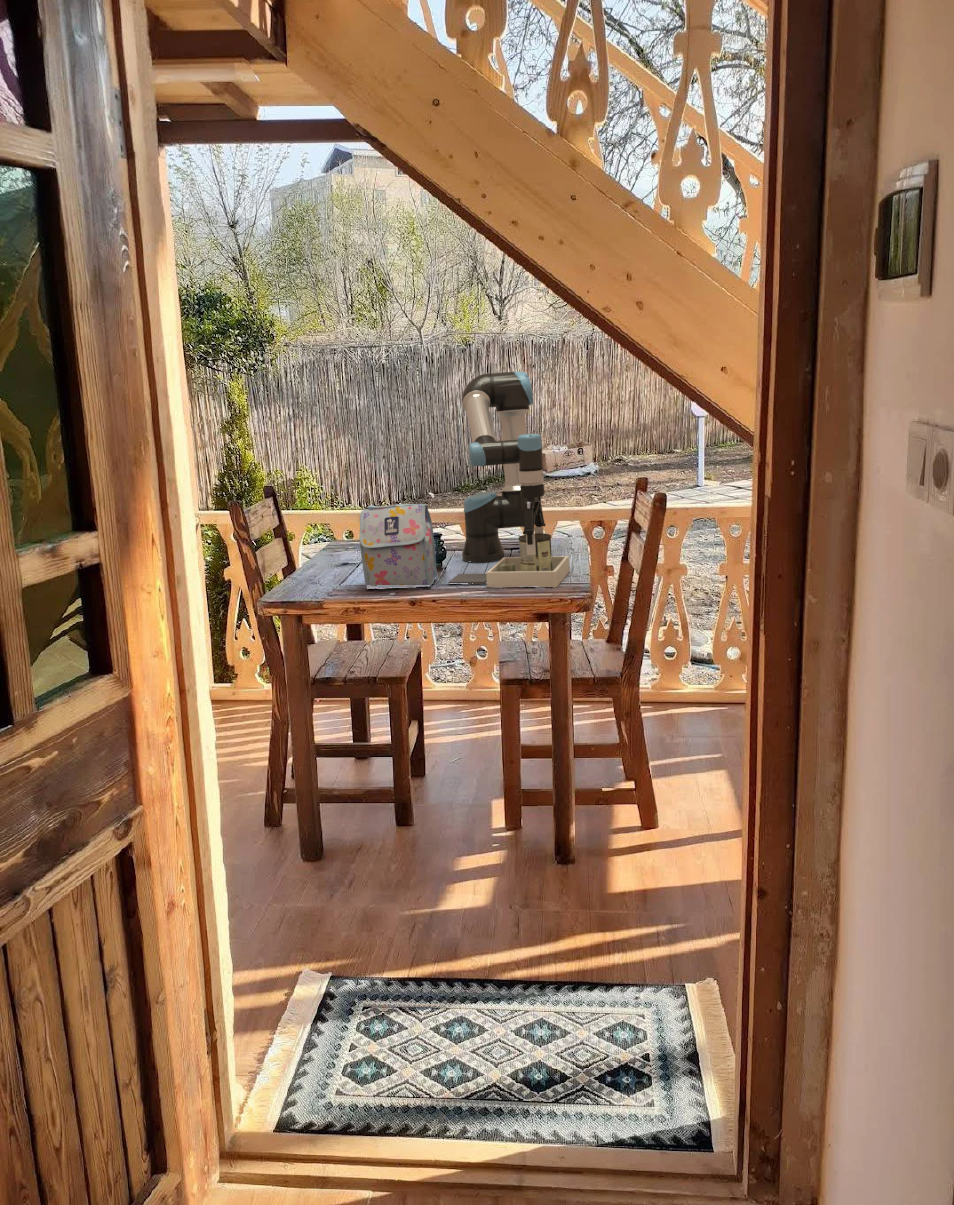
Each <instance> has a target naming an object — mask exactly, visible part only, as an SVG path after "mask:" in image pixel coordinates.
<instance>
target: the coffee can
mask: <svg viewBox="0 0 954 1205" xmlns="http://www.w3.org/2000/svg"><path fill="white" fill-rule="evenodd" d="M534 534H535V533H534ZM518 540H519V541H518V543H519V557H520V561H521V571H552V557H553V555H552V535H551V534H549V533H544V532H543V533H537V534H535V548H536V555H527V548H526V534H523V535H520V536H518Z"/></svg>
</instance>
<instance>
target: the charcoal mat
mask: <svg viewBox="0 0 954 1205" xmlns="http://www.w3.org/2000/svg"><path fill="white" fill-rule="evenodd" d="M486 582H487V577H486V573H458V574H457V575H456V576H454V577H453V578H452V579H450V580H449V581H448V584H449V583H468V584H472V583H473V584H485V585H487V583H486Z"/></svg>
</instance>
